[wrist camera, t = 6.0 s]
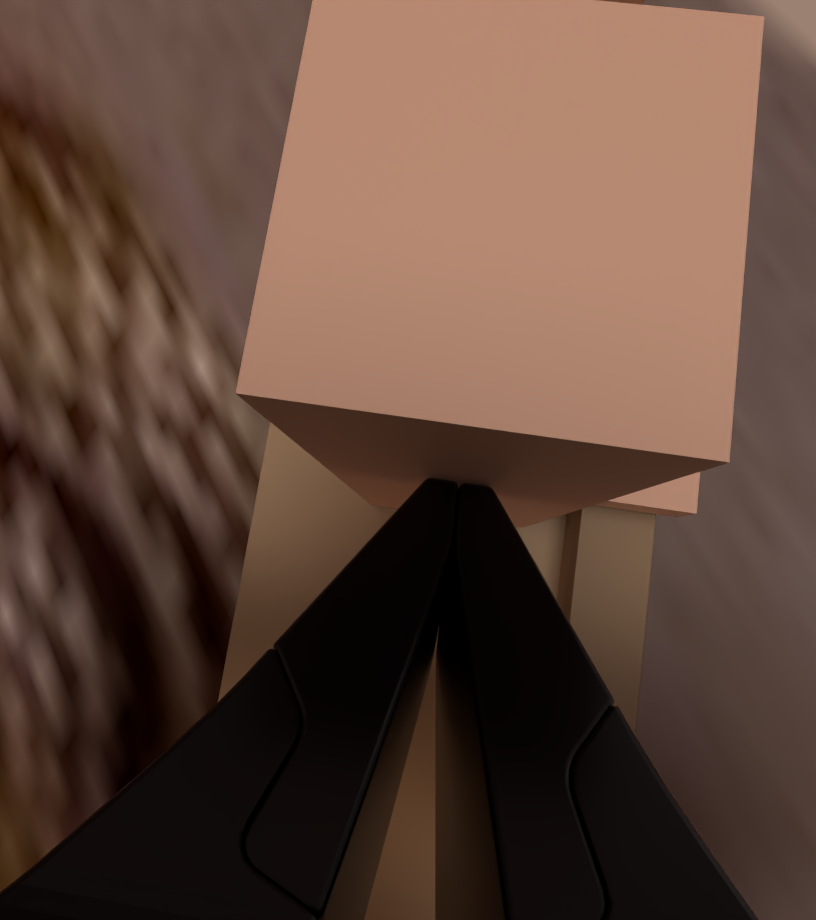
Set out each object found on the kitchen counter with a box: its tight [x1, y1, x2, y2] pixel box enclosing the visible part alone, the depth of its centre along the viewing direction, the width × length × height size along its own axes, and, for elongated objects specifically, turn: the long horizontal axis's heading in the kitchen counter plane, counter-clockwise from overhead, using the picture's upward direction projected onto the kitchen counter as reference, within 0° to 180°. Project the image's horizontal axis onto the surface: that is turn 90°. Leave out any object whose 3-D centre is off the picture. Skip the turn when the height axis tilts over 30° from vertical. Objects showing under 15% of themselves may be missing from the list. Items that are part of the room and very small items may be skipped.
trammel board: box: [218, 0, 656, 920], centre depth 10 cm, size 32×9×11 cm, turn 171°
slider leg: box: [236, 0, 764, 527], centre depth 10 cm, size 4×6×10 cm, turn 81°
